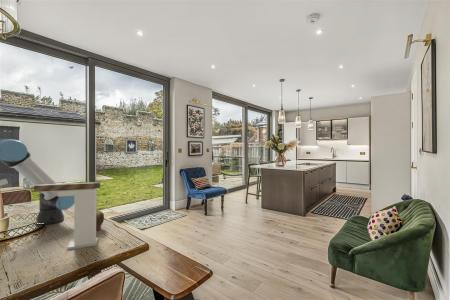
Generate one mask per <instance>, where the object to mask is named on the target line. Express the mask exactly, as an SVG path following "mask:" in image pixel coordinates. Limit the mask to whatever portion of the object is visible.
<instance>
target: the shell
mask: <svg viewBox="0 0 450 300" xmlns="http://www.w3.org/2000/svg"><path fill="white" fill-rule="evenodd" d="M104 219H105V215H104V212H102V211H101V210H96V232H98V231H100V230H101V228H102V225H103V224H104Z"/></svg>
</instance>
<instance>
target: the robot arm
mask: <svg viewBox="0 0 450 300" xmlns="http://www.w3.org/2000/svg"><path fill="white" fill-rule="evenodd" d="M31 156H32V154H31V153H30V151H28V148H27V145H26V144H25V143H23V142H21V140H17V139H14V138H12V139H11V138H7V139H6V138H4V139H3V138H0V161H1V162H2V163H3V164H4V165H5V166H6V167H8V168H9V169H10V168H11V169H15V171H17V172H18V173H19V174H20V175H21V176H22V177H24V178H25V179H26V181H28V182H30V183H31V185H33V187H34V186H35V185H42V184H57V182H56V181H54V180H53V179H52V178H51V177H50V176H49V175H48V174H47V173H46V172H45V171H44V170H43V169H42V168H41V167H40V166H39V165H38V164H37V163H36V162H35V161H33V159H32V158H31ZM8 184H9V182H8V180H7V178H4V179H0V187H1V186H5V185H8ZM38 196H39V197H38V198H39V199H38V200H39V202H38V203H39V204H38V205H39V206H38V207H39V208H38V209H39V212H38V214H37V217H36V219H35V223H36V222H37V223H44V224H45V226H46V225H52V224H56V223H60V222H62V221H64V220H65V215H64V213H63V211H66V210H69V209H71V208H72V207H73V206H74V196H60V197H58V191H42V192H39V194H38Z"/></svg>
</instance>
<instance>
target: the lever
mask: <svg viewBox="0 0 450 300" xmlns="http://www.w3.org/2000/svg"><path fill="white" fill-rule="evenodd" d="M95 188H96V189H100V188H101V182H96V181H93V182H92V181H90V182H75V183H74V182H71V183H70V182H69V183H56V184H42V185H35V186H34V185H33V192H34V193H38V192H42V191H62V190H81V189H95Z"/></svg>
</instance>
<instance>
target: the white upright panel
mask: <svg viewBox="0 0 450 300" xmlns="http://www.w3.org/2000/svg"><path fill="white" fill-rule="evenodd" d="M60 196H74V205H73V206H74V211H73V212H74V215H73V217H74V218H73V219H74V220H73V222H74V224H73V225H74V227H73V228H74V230H73V231H74V233H73V235H74V237H73V240H70V241H69V243H68V245H67V246H66V250H75V249H82V248H89V247H96V246H98V241H99V237H97V231H96V211H97V188H95V189H81V190H62V191H58V197H60Z"/></svg>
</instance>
